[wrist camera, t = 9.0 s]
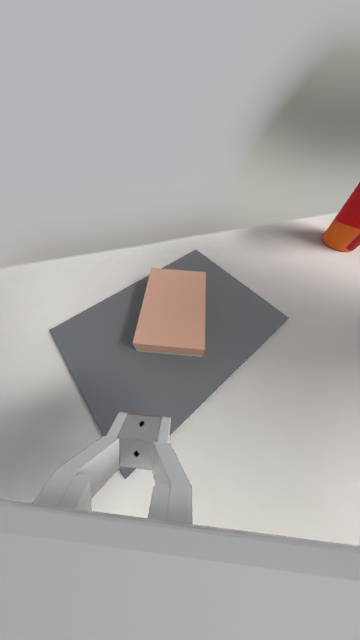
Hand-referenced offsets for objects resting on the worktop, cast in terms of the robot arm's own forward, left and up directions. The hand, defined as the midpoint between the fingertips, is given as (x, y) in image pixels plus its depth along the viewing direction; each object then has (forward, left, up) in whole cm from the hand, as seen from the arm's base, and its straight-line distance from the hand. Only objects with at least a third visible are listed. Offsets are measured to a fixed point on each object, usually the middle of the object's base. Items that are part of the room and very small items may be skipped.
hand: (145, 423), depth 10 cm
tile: (-5, -5, -7) cm, 10 cm away
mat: (-8, -8, -9) cm, 15 cm away
